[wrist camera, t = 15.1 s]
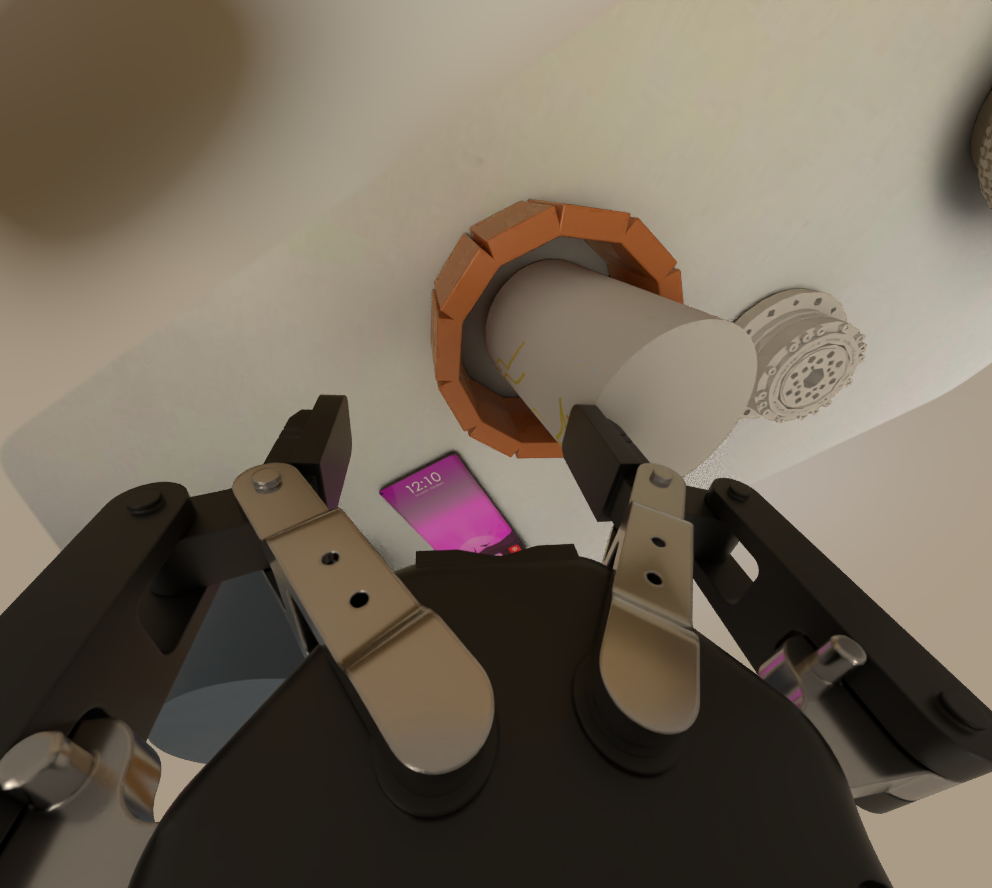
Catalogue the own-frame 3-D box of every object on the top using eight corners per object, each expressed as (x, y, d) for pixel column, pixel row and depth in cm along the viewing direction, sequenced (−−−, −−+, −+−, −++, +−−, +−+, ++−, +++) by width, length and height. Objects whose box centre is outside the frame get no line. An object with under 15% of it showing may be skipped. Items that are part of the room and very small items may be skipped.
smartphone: (466, 577, 39) (467, 585, 38) (376, 488, 30) (375, 496, 29) (528, 549, 38) (530, 556, 37) (453, 448, 29) (454, 455, 28)
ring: (429, 410, 27) (433, 460, 22) (433, 185, 19) (441, 185, 14) (599, 412, 30) (635, 456, 25) (659, 217, 22) (729, 227, 17)
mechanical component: (689, 342, 27) (719, 430, 33) (729, 366, 24) (755, 460, 29) (825, 256, 25) (832, 365, 31) (892, 268, 22) (886, 389, 27)
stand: (269, 631, 39) (218, 780, 29) (193, 545, 31) (86, 712, 21) (403, 604, 40) (396, 739, 30) (363, 514, 32) (337, 659, 22)
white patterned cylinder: (459, 337, 23) (541, 447, 13) (553, 226, 21) (722, 265, 12) (538, 404, 28) (637, 518, 18) (619, 319, 26) (775, 399, 16)
